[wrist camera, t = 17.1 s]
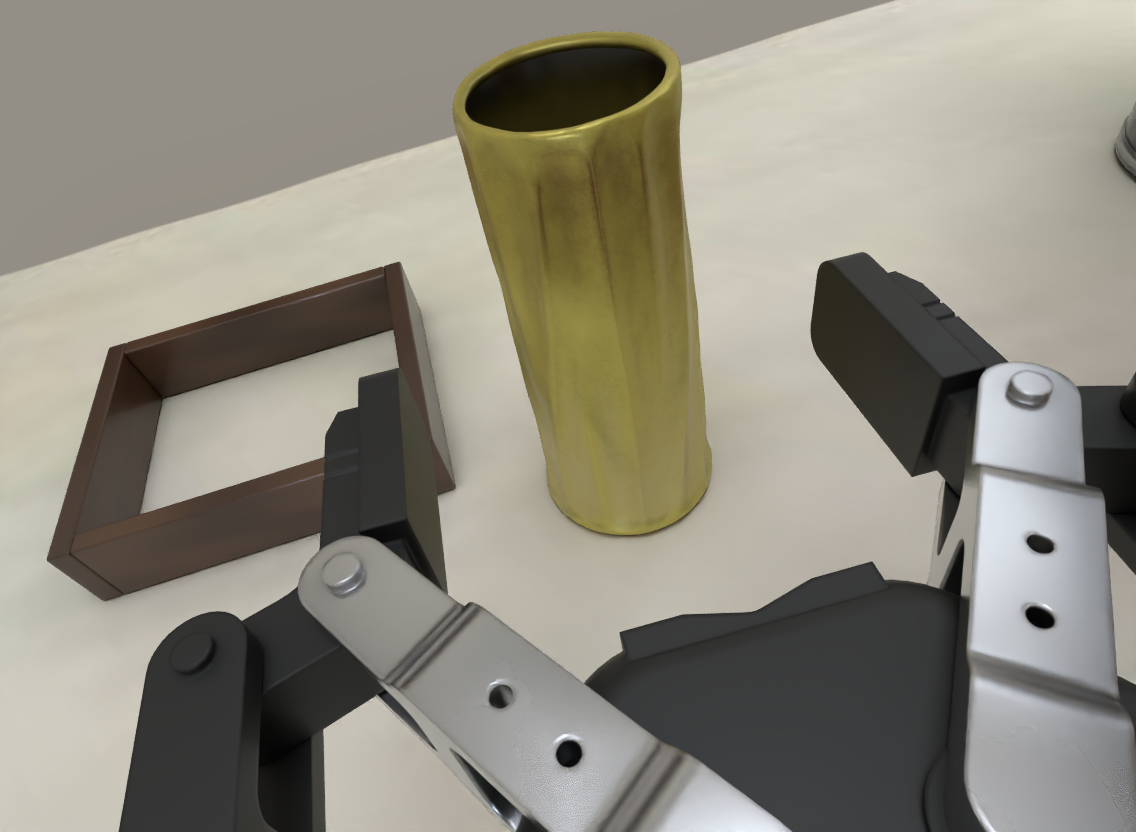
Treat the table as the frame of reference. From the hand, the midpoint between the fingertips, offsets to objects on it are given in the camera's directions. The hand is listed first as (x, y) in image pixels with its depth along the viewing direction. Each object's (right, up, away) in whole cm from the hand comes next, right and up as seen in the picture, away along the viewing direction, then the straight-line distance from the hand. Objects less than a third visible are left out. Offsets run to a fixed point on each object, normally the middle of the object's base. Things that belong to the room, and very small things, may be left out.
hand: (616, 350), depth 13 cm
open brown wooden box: (-13, -2, +17) cm, 22 cm away
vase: (+1, -3, +13) cm, 13 cm away
